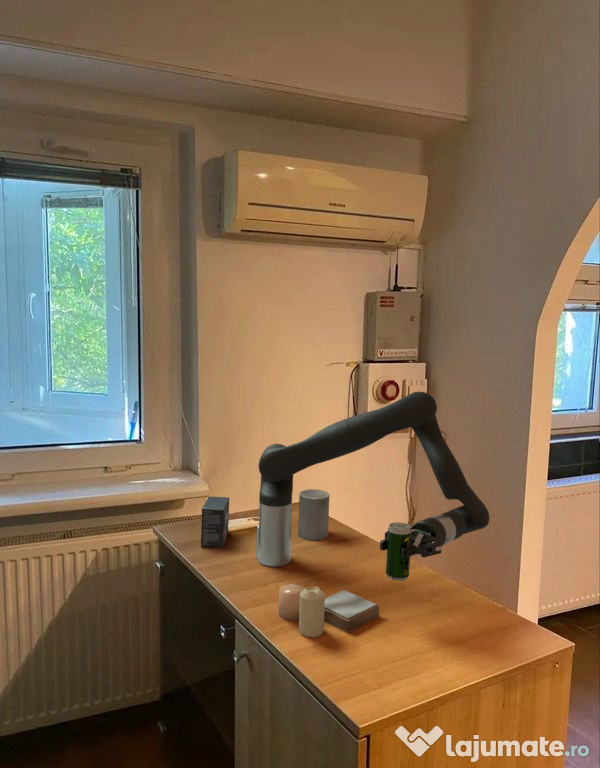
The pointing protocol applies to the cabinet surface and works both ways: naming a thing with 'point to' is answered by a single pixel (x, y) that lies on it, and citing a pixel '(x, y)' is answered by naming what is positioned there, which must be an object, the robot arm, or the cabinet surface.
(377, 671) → the cabinet surface
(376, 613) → the podium
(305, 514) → the pillar candle
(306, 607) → the candle
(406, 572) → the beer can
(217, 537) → the small box
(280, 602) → the peach rounded cylinder
